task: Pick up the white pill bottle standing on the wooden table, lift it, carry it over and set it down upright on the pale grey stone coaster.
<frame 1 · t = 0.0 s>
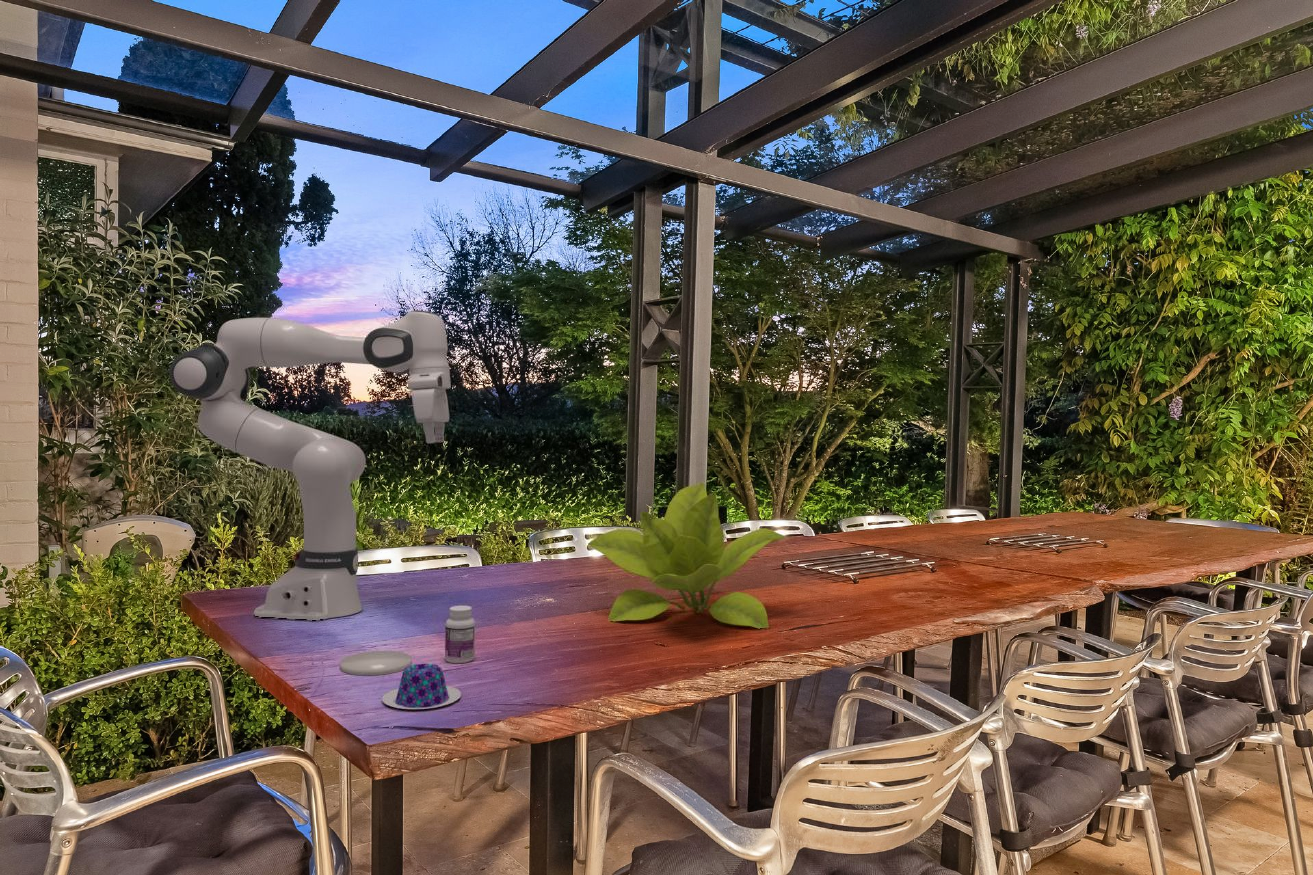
hand: (435, 442, 191), 39 cm above the table, tool pointing down, fingers open, 8 cm apart
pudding: (421, 702, 132), on the table
coaster: (376, 665, 150), on the table
pill bottle: (459, 660, 154), on the table
artificial plant: (686, 619, 192), on the table
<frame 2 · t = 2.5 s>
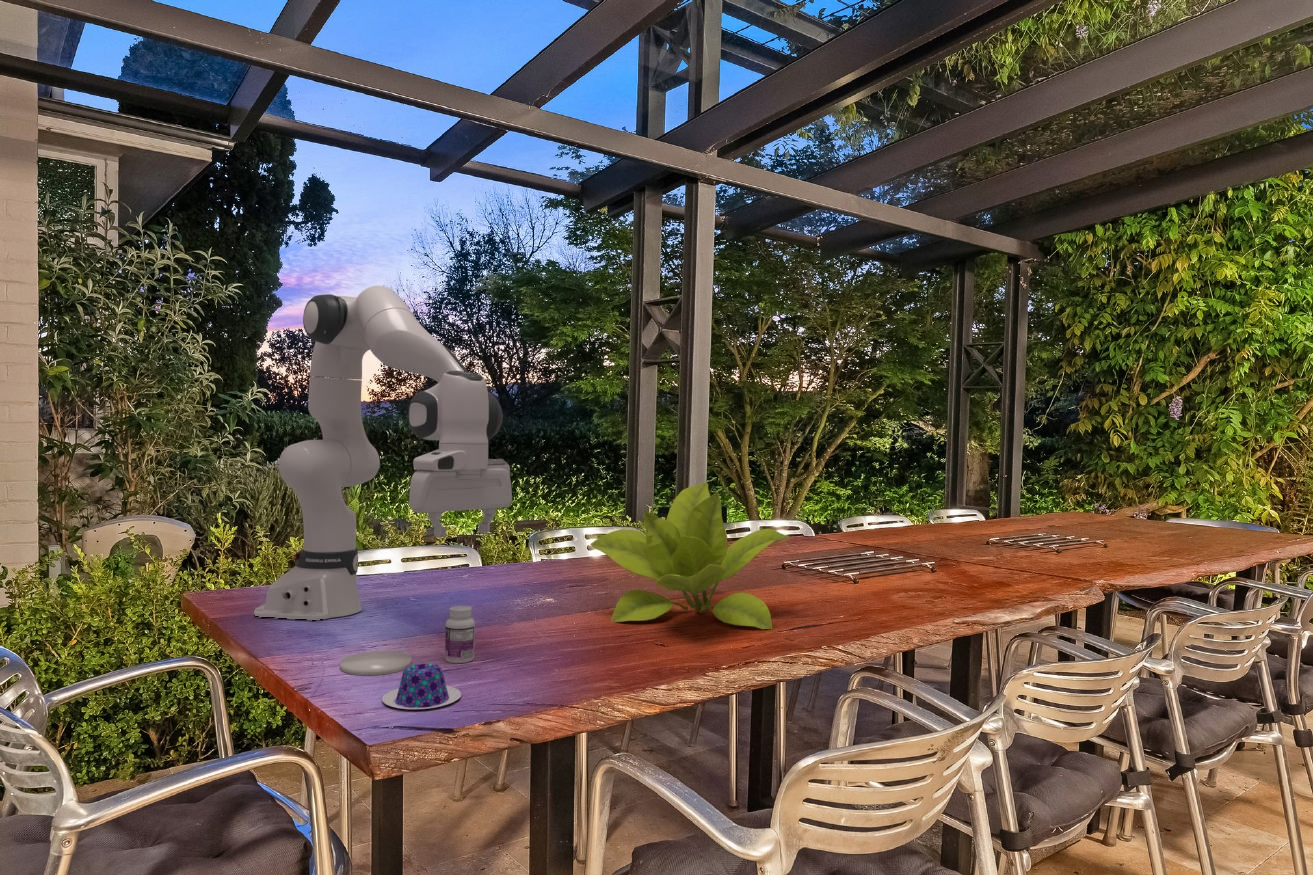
hand: (462, 534, 154), 23 cm above the table, tool pointing down, fingers open, 8 cm apart
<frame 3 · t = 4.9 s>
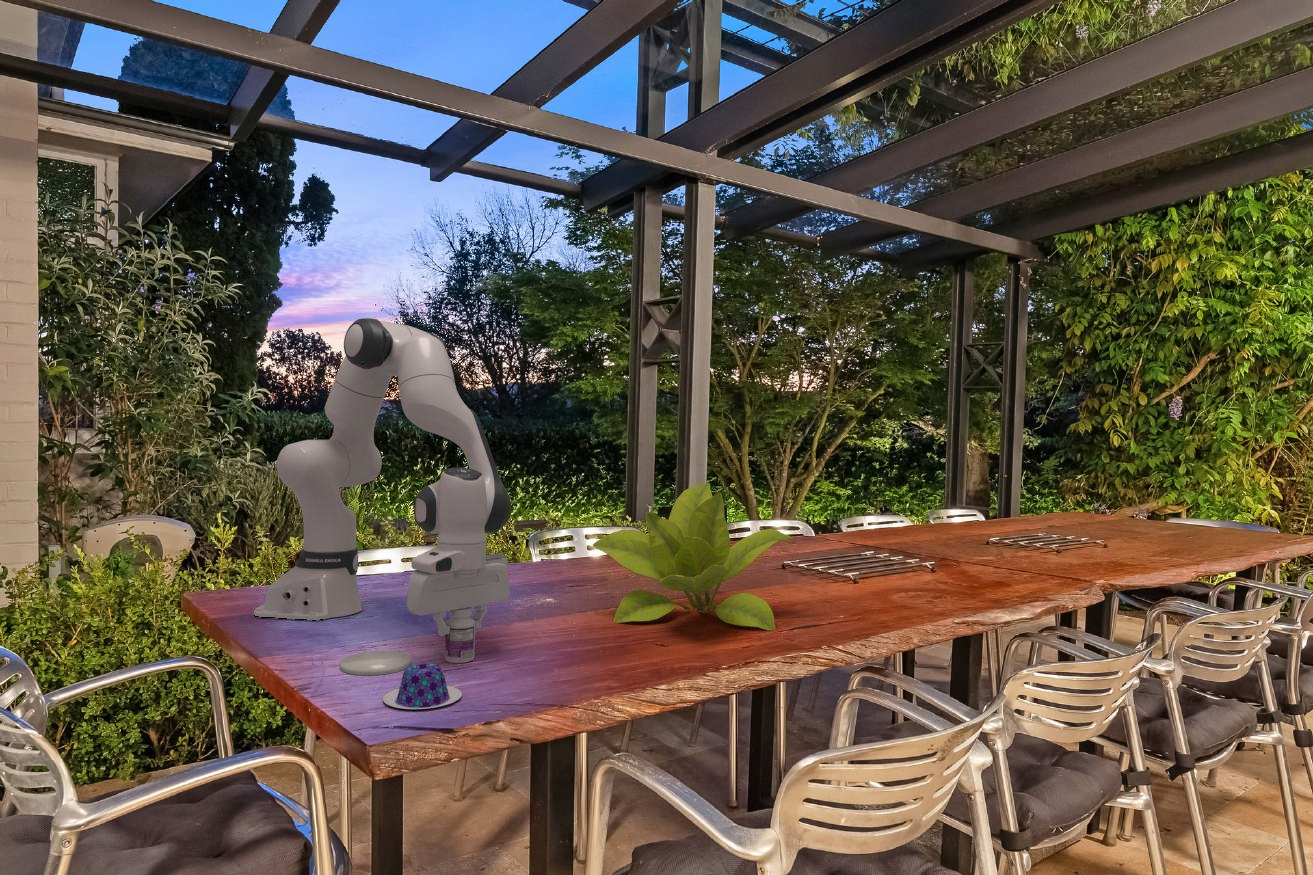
hand: (460, 632, 154), 5 cm above the table, tool pointing down, fingers closed on pill bottle, 5 cm apart
pill bottle: (459, 660, 154), on the table, touching gripper
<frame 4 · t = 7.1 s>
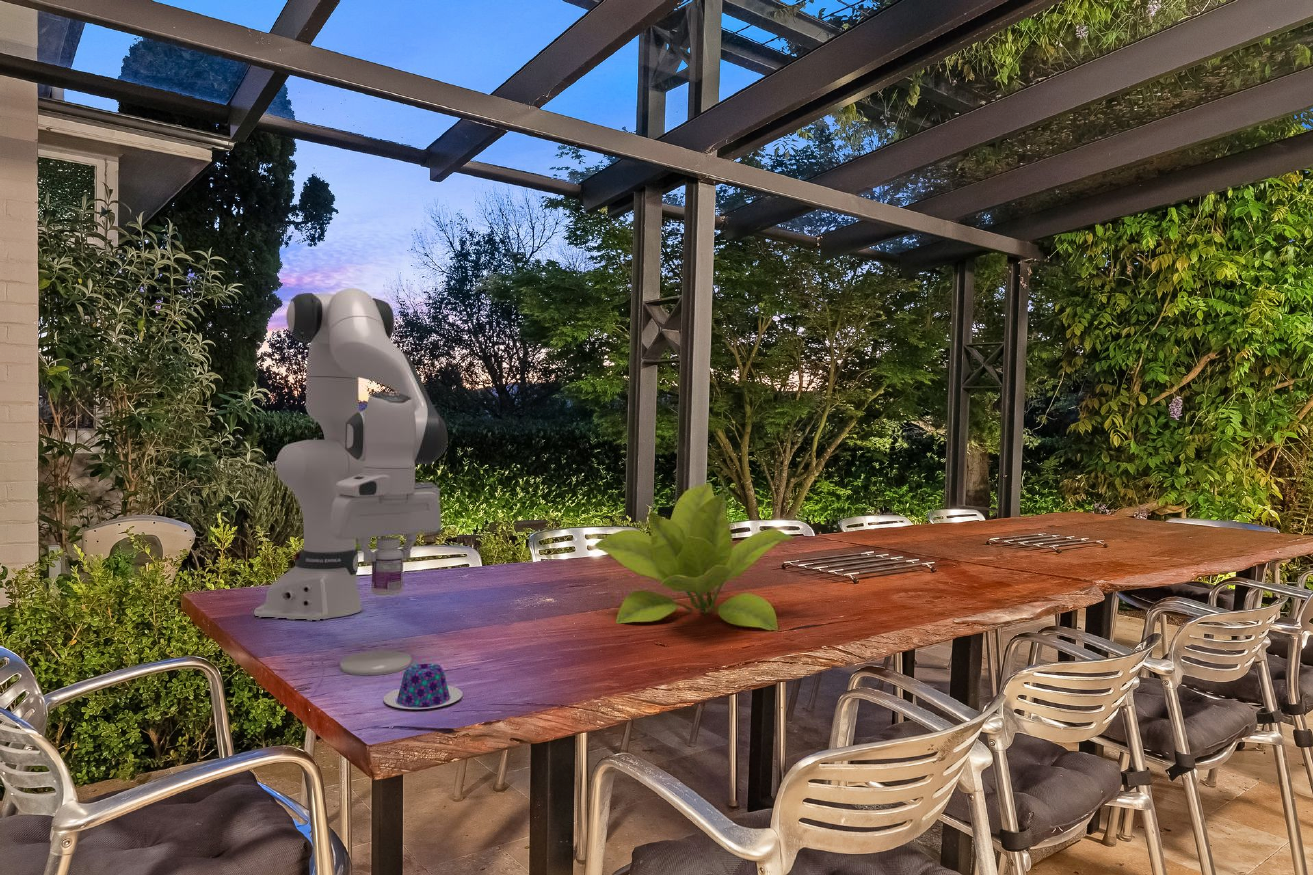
hand: (387, 560, 150), 19 cm above the table, tool pointing down, fingers closed on pill bottle, 5 cm apart
pill bottle: (386, 593, 150), point 13 cm above the table, touching gripper
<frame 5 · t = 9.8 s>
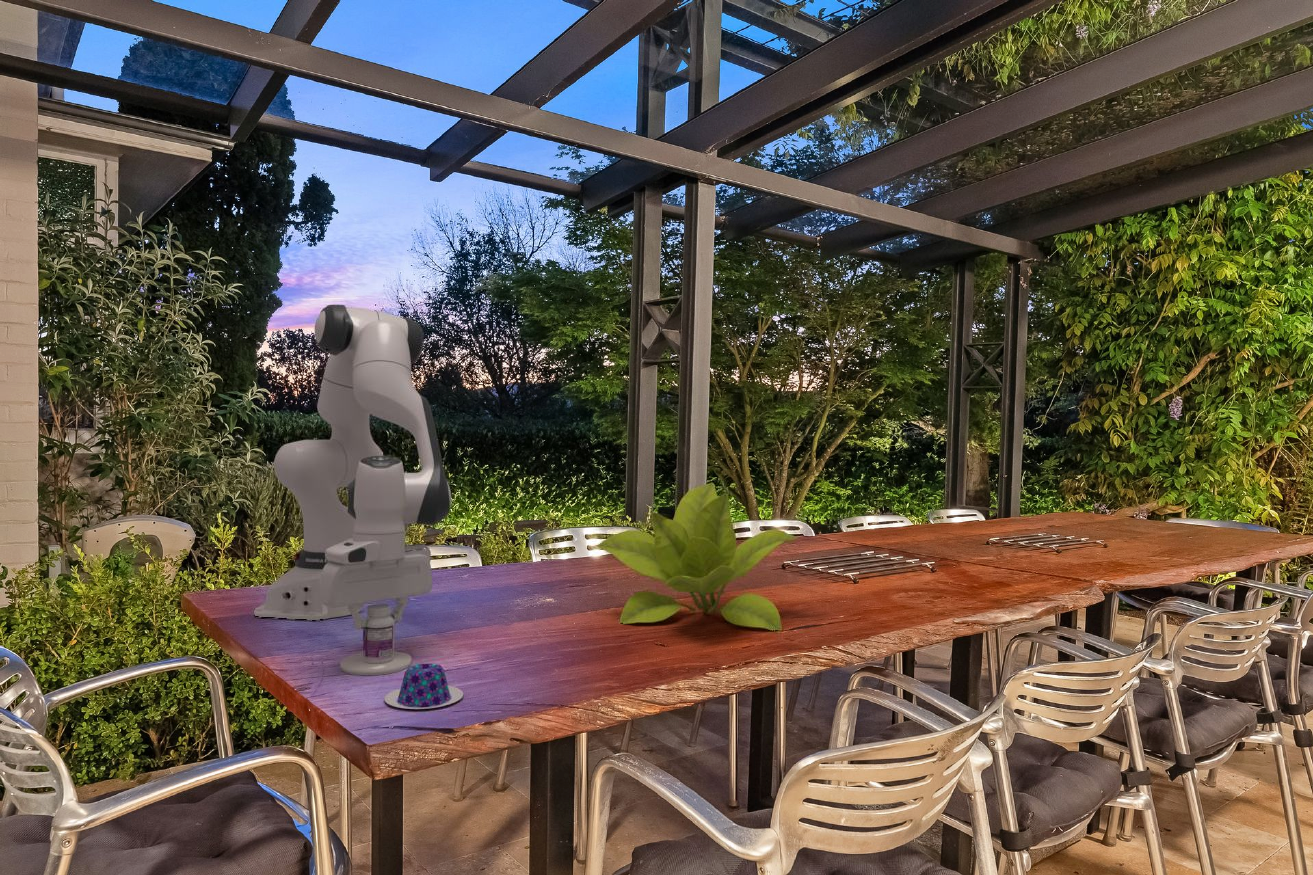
hand: (378, 625, 149), 7 cm above the table, tool pointing down, fingers closed on pill bottle, 5 cm apart
pill bottle: (378, 661, 149), point 1 cm above the table, touching coaster, gripper
when the fingers open (7 cm above the table, at t = 10.4 s): pill bottle stays where it is, resting on coaster.
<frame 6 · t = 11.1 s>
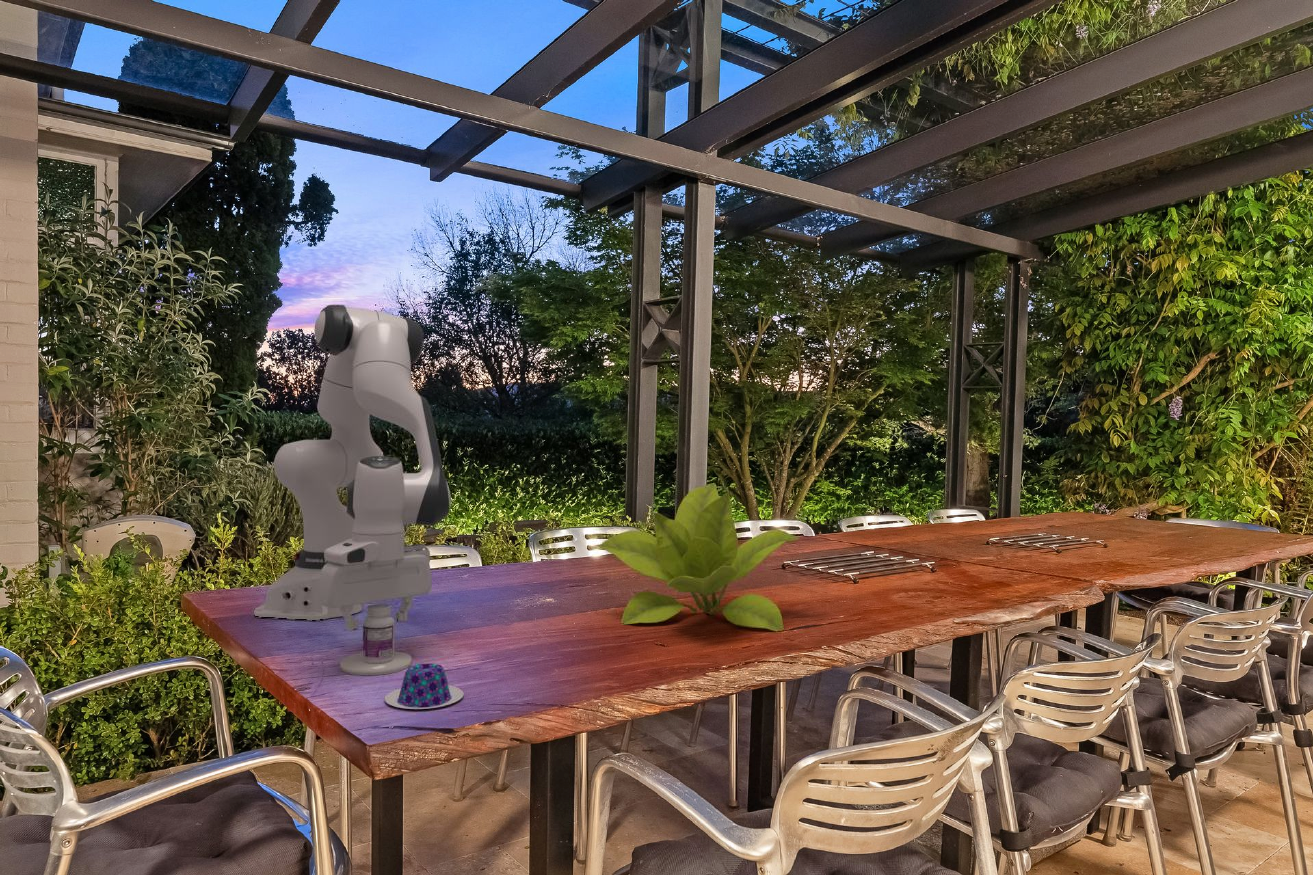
hand: (377, 625, 149), 7 cm above the table, tool pointing down, fingers open, 8 cm apart
pill bottle: (378, 661, 149), point 1 cm above the table, touching coaster
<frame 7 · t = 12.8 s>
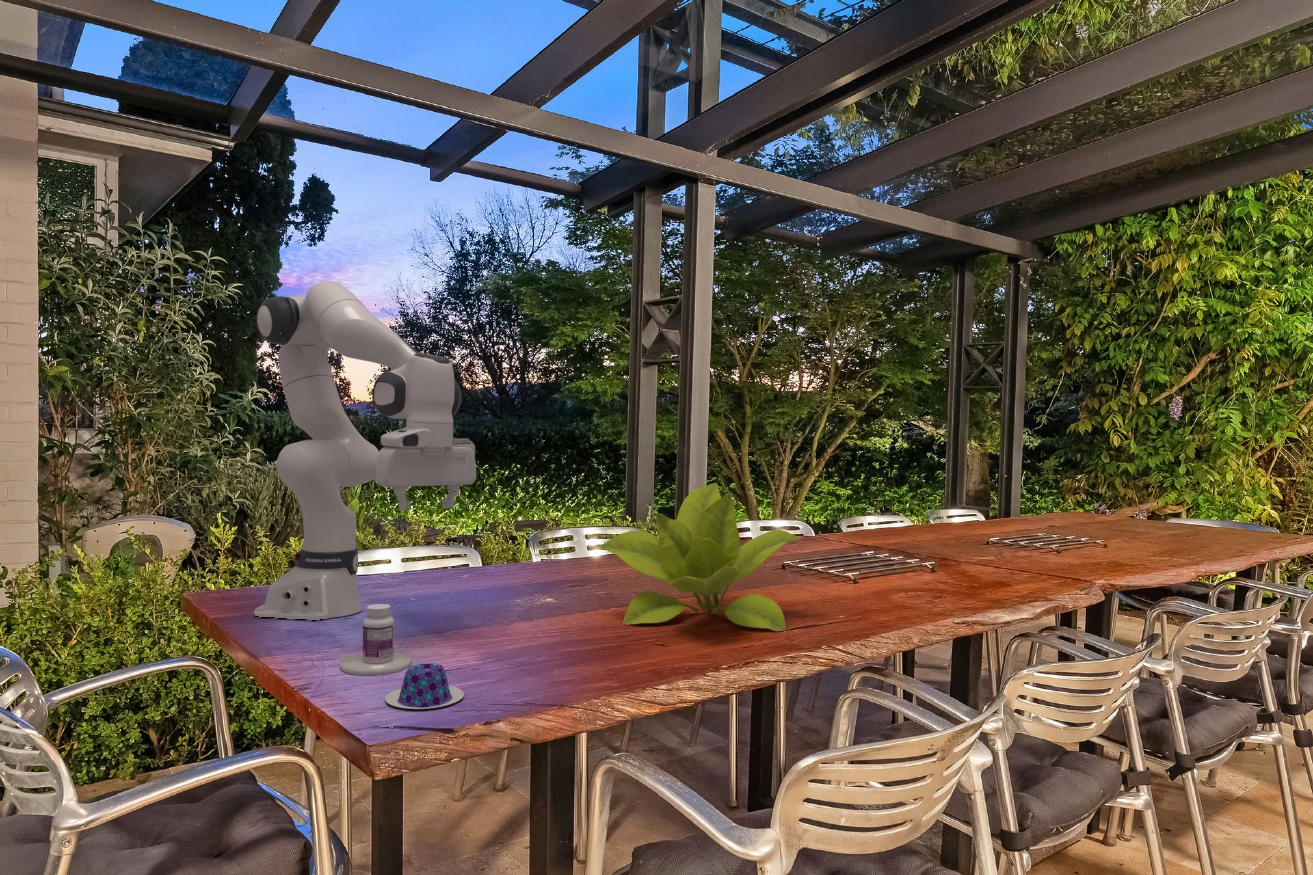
hand: (426, 508, 163), 27 cm above the table, tool pointing down, fingers open, 8 cm apart
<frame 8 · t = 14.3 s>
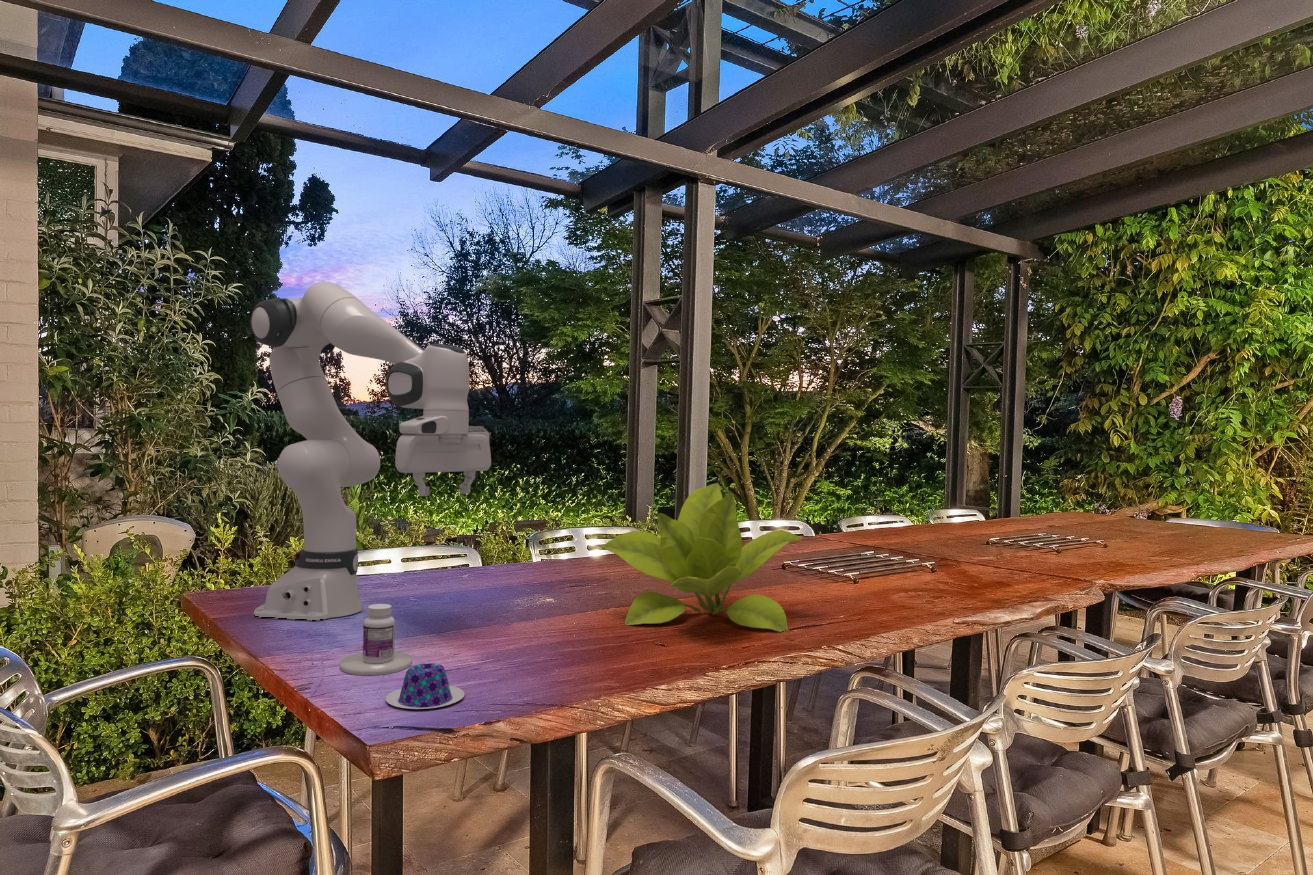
hand: (444, 494, 167), 29 cm above the table, tool pointing down, fingers open, 8 cm apart
at the end: pill bottle 0.4 cm from the coaster (horizontally); pill bottle tilted 1°; pill bottle point 0.8 cm above the table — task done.
